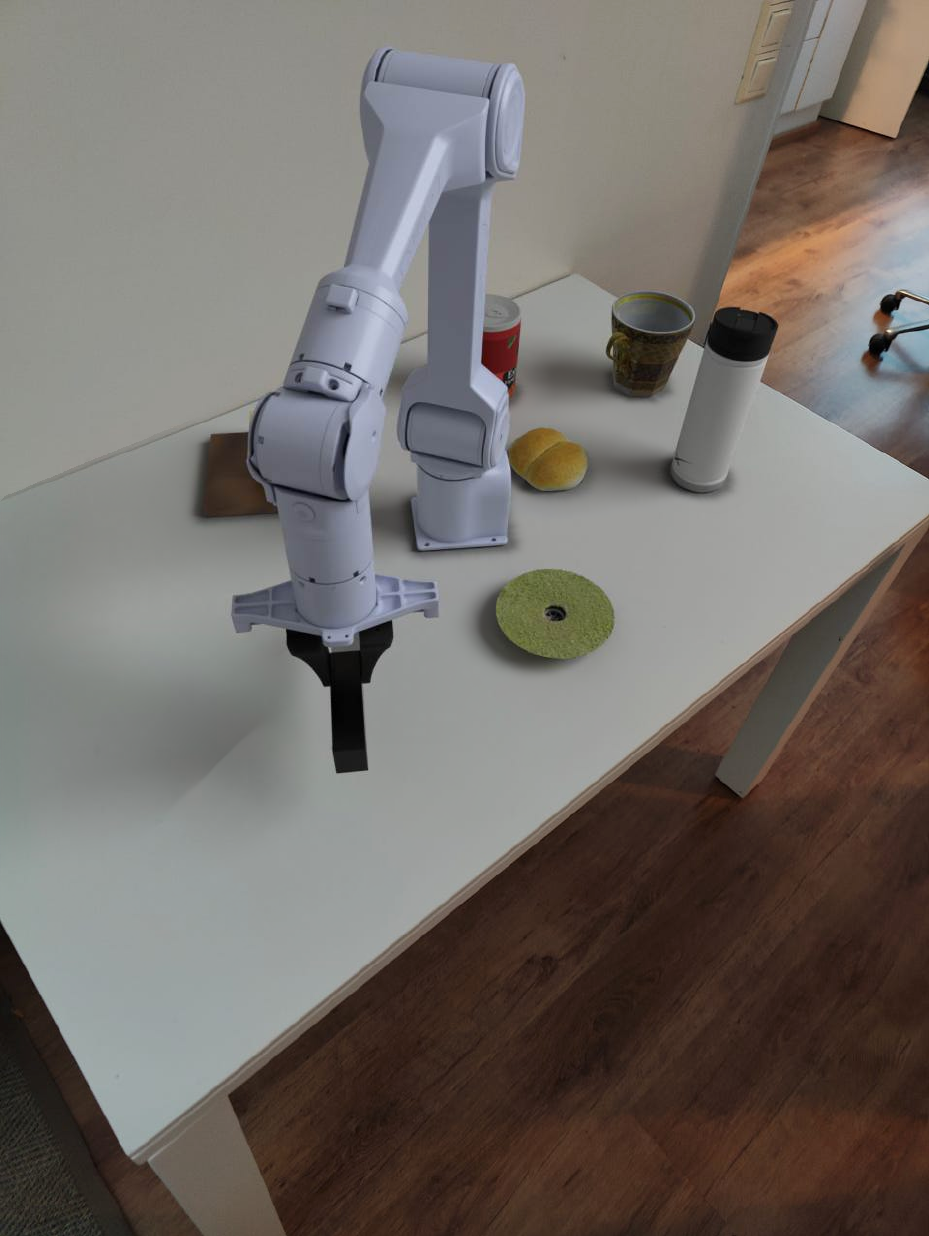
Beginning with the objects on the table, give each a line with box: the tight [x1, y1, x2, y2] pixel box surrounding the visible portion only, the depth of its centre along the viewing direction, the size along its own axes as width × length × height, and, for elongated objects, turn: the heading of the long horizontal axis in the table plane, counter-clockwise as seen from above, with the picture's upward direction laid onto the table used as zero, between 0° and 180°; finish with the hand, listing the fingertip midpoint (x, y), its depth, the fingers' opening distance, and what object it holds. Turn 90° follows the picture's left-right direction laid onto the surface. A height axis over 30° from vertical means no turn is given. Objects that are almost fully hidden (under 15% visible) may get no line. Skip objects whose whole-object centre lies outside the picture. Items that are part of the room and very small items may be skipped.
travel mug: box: [669, 306, 779, 493], centre depth 87 cm, size 6×7×20 cm
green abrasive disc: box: [495, 568, 616, 659], centre depth 78 cm, size 11×11×2 cm
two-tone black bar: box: [329, 632, 369, 775], centre depth 66 cm, size 19×2×3 cm, turn 8°
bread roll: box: [508, 427, 589, 492], centre depth 93 cm, size 8×9×4 cm
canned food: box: [481, 293, 522, 400], centre depth 100 cm, size 8×8×11 cm
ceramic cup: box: [605, 290, 696, 398], centre depth 102 cm, size 13×10×10 cm
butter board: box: [202, 431, 279, 518], centre depth 92 cm, size 14×13×1 cm
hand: (346, 675), depth 65 cm, fingers closed on two-tone black bar, 2 cm apart
